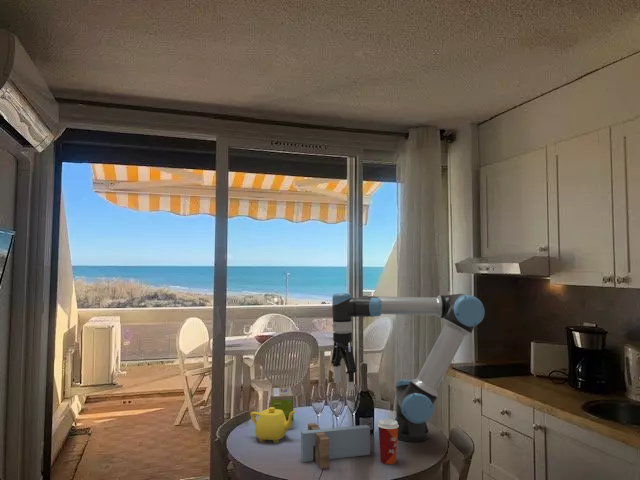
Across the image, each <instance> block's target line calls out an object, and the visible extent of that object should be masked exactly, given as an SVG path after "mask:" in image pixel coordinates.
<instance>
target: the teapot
mask: <svg viewBox="0 0 640 480" xmlns="http://www.w3.org/2000/svg"><path fill="white" fill-rule="evenodd" d="M295 413H297V410H293V412H290V414H289V418H288V421H287V420H286V417H285V414H284V412H283V411H282V410H279V409H275V408H274V407H271V406H270V407H268V408H266V409H264V410H262V411H260V412H259V411H251V412H250V415H249V416H250V418H251V419H250V420H251V421H252V422H253V424H254V426H255V427H254V428H255V429H254V433H255V435H256V437H257V438H258V442H263V443H264V442H265V441H266V440H268V441H269V440H270V441H272V443H275V444H277V443H280V439H282V438H284V437H285V436H286V434H287V433H288V430H290V429H289V428H290V427H291V424H292V417H293V418H294V414H295ZM256 415H257V416H258V418H257V420H256Z"/></svg>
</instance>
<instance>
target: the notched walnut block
mask: <svg viewBox="0 0 640 480" xmlns="http://www.w3.org/2000/svg"><path fill="white" fill-rule="evenodd" d="M317 429H321V428H320V426H319V425H318V424H317V422H311V423H307V430H317ZM313 461H315V462H316V464H317V466H318V467H319V469H320V470H326V469H330V459H329V438H328V437H327V436H326V434H325V433H324V432H321V433H316V446H313Z"/></svg>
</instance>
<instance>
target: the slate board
mask: <svg viewBox="0 0 640 480" xmlns="http://www.w3.org/2000/svg"><path fill="white" fill-rule="evenodd" d="M321 432H324V433H325V434H326V436H327V437H328V438H329V460H333V459H334V460H335V459H342V458H352V457H360V456H370V455H371V427H370V426H369V425H368V424H364V425H363V424H362V425H361V424H360V425H350V426H349V425H348V426H341V427H330V428H329V427H328V428H320V429H317V430H308V429H307V430H301V431H300V460H301V461H302V463H306V462H314V458H313V446H316V433H321Z"/></svg>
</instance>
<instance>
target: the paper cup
mask: <svg viewBox="0 0 640 480" xmlns="http://www.w3.org/2000/svg"><path fill="white" fill-rule="evenodd" d="M377 426H378V440H379V443H378V444H379V455H380V456H379V457H380V462H381V463H382V464H384V465H395V464H396V462H397V455H398V454H397V453H398V439H397V437H398V427H399V425H398V422H397V421H395V419H391V418H382V419H380V420H378V423H377Z"/></svg>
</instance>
